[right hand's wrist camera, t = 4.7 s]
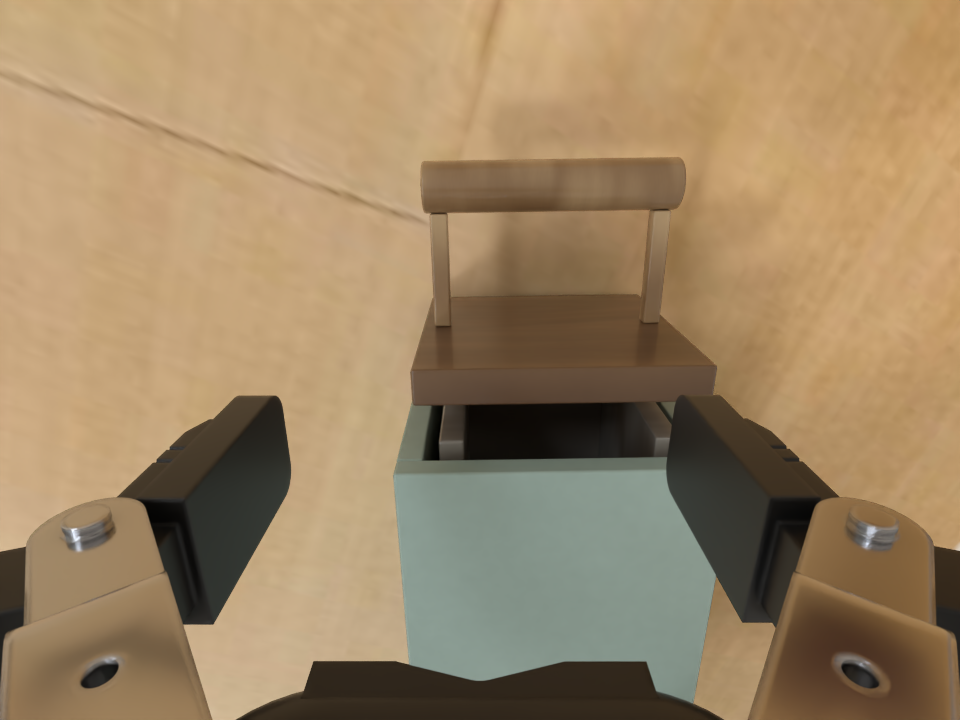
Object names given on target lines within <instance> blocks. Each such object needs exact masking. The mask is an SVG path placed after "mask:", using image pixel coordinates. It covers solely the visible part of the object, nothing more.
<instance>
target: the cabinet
mask: <svg viewBox="0 0 960 720" xmlns="http://www.w3.org/2000/svg"><path fill="white" fill-rule="evenodd" d="M675 403H676V402H656V404H657V405H658V407H659V408H660V410H661V411H662V412H663V414H664V415H665V417H666V418H667V419H668V421H669V422H670V424H671V425H672V420H673V413H674V407H675ZM443 407H444V405H434V406H414V405H413V403H412V404H411V408H410V412H409V416H408V420H407V423H406V427H405V431H404V435H403V439H402V443H401V447H400V451H399V454H398V458H397V464H396V467H395V471H394V475H393V478H394V490H395V502H396V514H397V526H398V538H399V549H400V561H401V573H402V585H403V597H404V609H405V620H406V632H407V644H408V656H409V665H412V666H416V667H421V668H425V669H429V670H433V671H437V672H441V673H445V674H449V675H453V676H457V677H462V678H466V679H470V680H475V681H485V680H490V679H494V678H498V677H503V676H507V675H511V674H515V673H519V672H523V671H527V670H531V669H535V668H539V667H544V666H548V665H552V664H556V663H560V662H564V661H646V662H647V665H648V668H649V671H650V674H651V677H652V680H653V683H654V686H655V689H656V691H658V692H661V693H665V694H669V695H672V696H674V697H677V698H680V699H683V700H686V701H688V702H691V703H693V702H694V697H695V691H696V685H697V680H698V674H699V669H700V663H701V658H702V652H703V646H704V641H705V635H706V630H707V624H708V619H709V613H710V607H711V602H712V596H713V591H714V585H715V580H716V574H715V573H714V571H713V569H712V567H711V565H710V564H709V562H708V560H707V558H706V556H705V555H704V553H703V551H702V549H701V547H700V546H699V544H698V542H697V540H696V538H695V537H694V535H693V533H692V531H691V530H690V528H689V526H688V524H687V522H686V521H685V519H684V517H683V515H682V513H681V512H680V510H679V508H678V506H677V504H676V503H675V501H674V499H673V497H672V495H671V493H670V491H669V488H668V483H667V476H666V463H667V457H639V458H574V459H510V460H445V461H440V456H439V438H440V430H441V422H442V415H443Z"/></svg>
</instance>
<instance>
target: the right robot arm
mask: <svg viewBox="0 0 960 720" xmlns="http://www.w3.org/2000/svg"><path fill="white" fill-rule="evenodd" d="M666 476H667V483H668V488H669V491H670V493H671V495H672V497H673V499H674V501H675V503H676V504H677V506H678V508H679V510H680V512H681V513H682V515H683V517H684V519H685V521H686V522H687V524H688V526H689V528H690V530H691V531H692V533H693V535H694V537H695V538H696V540H697V542H698V544H699V546H700V547H701V549H702V551H703V553H704V555H705V556H706V558H707V560H708V562H709V564H710V565H711V567H712V569H713V571H714V573H715V574H716V576H717V578H718V580H719V581H720V583H721V585H722V587H723V589H724V590H725V592H726V594H727V596H728V598H729V599H730V601H731V603H732V605H733V607H734V608H735V610H736V612H737V614H738V616H739V617H740V619H741V621H742V623H773V624H774V626H775V627H776V630H775V633H774V636H773V639H772V643H771V646H770V649H769V652H768V656H767V659H766V662H765V665H764V669H763V672H762V675H761V678H760V682H759V685H758V688H757V691H756V695H755V698H754V701H753V704H752V708H751V711H750V714H749V717H748V720H960V551H957V550H951V549H946V548H941V547H936V546H934V545H933V541H932V539H931V538H930V536H929V535H928V534H927V532H926V531H925V530H924V529H922V528H921V527H920V526H919V525H918V524H916V523H915V522H914V521H912V520H911V519H909V518H907V517H906V516H904V515H902V514H900V513H898V512H896V511H894V510H892V509H889V508H887V507H885V506H882V505H879V504H876V503H873V502H869V501H865V500H860V499H855V498H843V497H839V496H838V495H837V494H836V493H835V492H834V491H833V490H832V489H831V488H830V487H829V486H828V485H826V484H825V483H824V482H823V481H822V480H821V479H820V478H819V477H818V476H817V475H816V474H815V473H814V472H813V471H812V470H811V469H810V468H809V467H808V466H807V465H806V464H805V463H804V462H800V461H799V458H798V457H797V456H796V455H795V454H794V453H793V452H792V451H791V450H790V449H786V445H785V444H784V443H783V442H782V441H781V440H780V439H779V438H777V437H776V436H775V435H774V434H773V433H772V432H771V431H770V430H768V429H766V428H764V427H762V426H760V425H758V424H756V423H755V422H753V421H751V420H749V419H743V418H742V417H741V416H740V415H739V414H738V413H737V412H736V411H735V410H734V409H733V408H732V407H731V406H730V405H729V404H728V403H727V402H726V401H725V400H724V399H723V398H722V397H721V396H720V395H680V396H679V397H678V398H677V400H676V403H675V407H674V413H673V420H672V427H671V434H670V441H669V448H668V455H667V463H666ZM290 479H291V462H290V455H289V448H288V441H287V434H286V428H285V421H284V414H283V407H282V404H281V401H280V399H279V398H278V397H277V396H237V397H235V398H234V399H233V400H232V401H231V402H230V403H229V404H228V405H227V406H226V407H225V408H224V409H223V410H222V411H221V412H220V413H219V414H218V415H217V416H216V417H215V418H214V419H209V420H207V421H206V422H204V423H202V424H200V425H198V426H196V427H194V428H192V429H190V430H189V431H187V432H185V433H184V434H183V435H182V436H181V437H180V438H179V439H178V440H177V441H176V442H175V443H174V444H172V445H171V446H170V450H166V451H165V452H164V453H163V454H162V455H161V456H160V457H159V458H158V459H157V462H156V463H152V464H151V465H150V466H149V467H148V468H147V469H146V470H145V471H144V472H143V473H142V474H141V475H140V476H139V477H138V478H137V479H136V480H135V481H134V482H132V483H131V484H130V485H129V486H128V487H127V488H126V489H125V490H124V491H123V492H122V493H121V494H120V495H119V496H118V497H117V498H105V499H100V500H95V501H91V502H87V503H84V504H81V505H78V506H75V507H73V508H71V509H68V510H66V511H64V512H62V513H60V514H58V515H56V516H54V517H53V518H51V519H49V520H48V521H46V522H45V523H44V524H42V525H41V526H40V527H39V528H38V529H36V530H35V531H34V532H33V534H32V535H31V536H30V538H29V539H28V541H27V545H26V547H23V548H18V549H13V550H7V551H2V552H0V720H212V717H211V714H210V711H209V708H208V704H207V701H206V698H205V695H204V691H203V688H202V685H201V682H200V678H199V675H198V672H197V669H196V665H195V662H194V659H193V656H192V652H191V649H190V646H189V643H188V639H187V636H186V633H185V630H184V626H183V624H214V622H215V621H216V619H217V617H218V615H219V613H220V612H221V610H222V608H223V606H224V605H225V603H226V601H227V599H228V598H229V596H230V594H231V592H232V590H233V589H234V587H235V585H236V583H237V582H238V580H239V578H240V576H241V574H242V573H243V571H244V569H245V567H246V566H247V564H248V562H249V560H250V559H251V557H252V555H253V553H254V551H255V550H256V548H257V546H258V544H259V543H260V541H261V539H262V537H263V536H264V534H265V532H266V530H267V528H268V527H269V525H270V523H271V521H272V520H273V518H274V516H275V514H276V513H277V511H278V509H279V507H280V505H281V504H282V502H283V500H284V498H285V497H286V495H287V492H288V489H289V485H290ZM236 720H724V719H722V718H720V717H718V716H717V715H715V714H713V713H711V712H710V711H708V710H706V709H704V708H701V707H699V706H697V705H695V704H693V703H691V702H688V701H686V700H683V699H680V698H677V697H674V696H672V695H669V694H665V693H661V692H658V691H656V689H655V686H654V683H653V680H652V677H651V674H650V671H649V668H648V665H647V662H646V661H564V662H560V663H556V664H552V665H548V666H544V667H539V668H535V669H531V670H527V671H523V672H519V673H515V674H511V675H507V676H503V677H498V678H494V679H490V680H485V681H475V680H470V679H466V678H462V677H457V676H453V675H449V674H445V673H441V672H437V671H433V670H429V669H425V668H421V667H416V666H412V665H408V664H404V663H400V662H396V661H314V662H313V665H312V668H311V671H310V674H309V677H308V680H307V683H306V686H305V689H304V691H302V692H299V693H295V694H291V695H288V696H286V697H283V698H280V699H277V700H274V701H272V702H269V703H267V704H265V705H263V706H261V707H259V708H256V709H254V710H252V711H250V712H249V713H247V714H245V715H243V716H242V717H240V718H238V719H236Z"/></svg>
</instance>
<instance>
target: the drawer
mask: <svg viewBox="0 0 960 720" xmlns="http://www.w3.org/2000/svg"><path fill="white" fill-rule="evenodd" d="M685 185H686V169H685V164H684V162H683V160H682V159H681V158H679V157H660V158H597V159H534V160H471V161H424V162H422V165H421V197H422V206H423V210H424V212H425V213H431V214H430V233H431V255H432V276H433V297H434V298H433V299H432V302H431V305H430V309H429V312H428V315H427V319H426V322H425V325H424V329H423V332H422V335H421V339H420V342H419V345H418V349H417V352H416V355H415V359H414V362H413V365H412V369H411V372H410V373H411V389H412V403H413V405H414V406H434V405H444V407H443V415H442V422H441V430H440V438H439V456H440V461H445V460H510V459H574V458H639V457H667V455H668V448H669V441H670V434H671V427H672V425H671V424H670V422H669V421H668V419H667V418H666V417H665V415H664V414H663V412H662V411H661V410H660V408H659V407H658V405H657V404H656V402H676V400H677V398H678V397H679V396H680V395H713V390H714V384H715V377H716V370H717V366H716V365H715V364H714V363H713V362H712V361H711V360H710V359H709V358H707V357H706V356H705V355H704V354H703V353H702V352H701V351H700V350H699V349H697V348H696V347H695V346H694V345H693V344H692V343H691V342H690V341H689V340H687V339H686V338H685V337H684V336H683V335H682V334H681V333H680V332H679V331H677V330H676V329H675V328H674V327H673V326H672V325H671V324H670V323H669V322H667V321H666V320H665V319H664V318H663V317H662V316H661V315H660V308H661V299H662V290H663V281H664V272H665V262H666V253H667V244H668V235H669V225H670V216H671V211H670V210H673V209H676V208H678V207H679V205H680V203H681V201H682V199H683V195H684V191H685ZM612 210H650V211H649V221H648V232H647V242H646V253H645V264H644V274H643V285H642V295H641V297H640V296H639V295H637V294H633V295H569V296H505V297H451V292H450V263H449V235H448V214H447V213H485V212H549V211H612Z"/></svg>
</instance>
